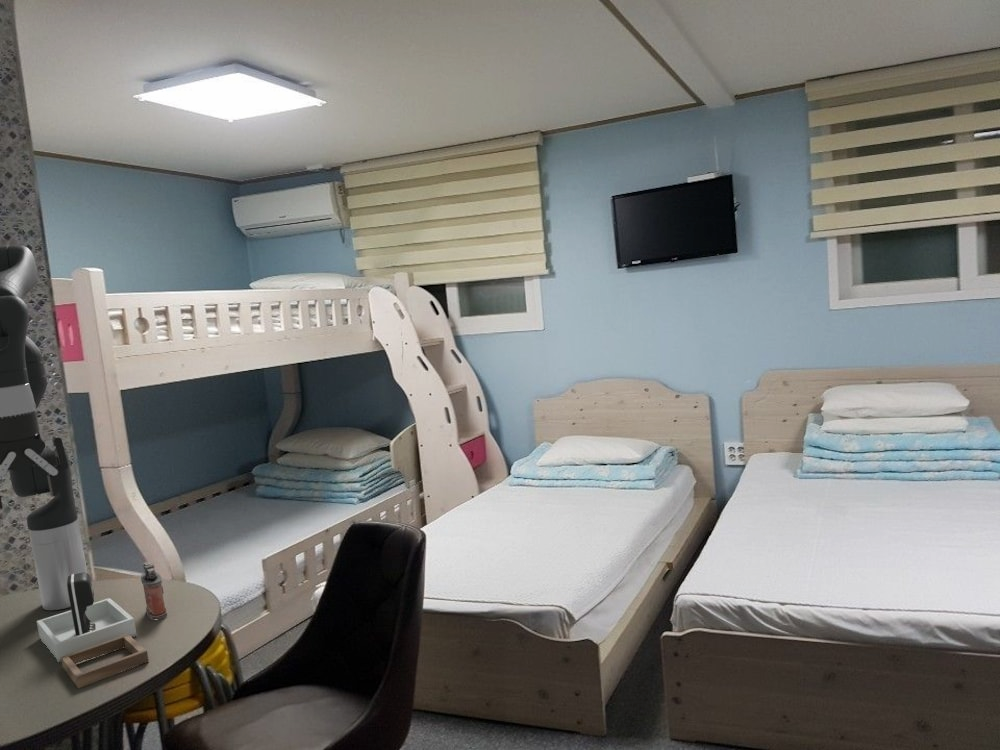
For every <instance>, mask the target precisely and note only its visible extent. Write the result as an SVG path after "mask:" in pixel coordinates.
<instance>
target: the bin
mask: <svg viewBox="0 0 1000 750" xmlns="http://www.w3.org/2000/svg"><path fill="white" fill-rule="evenodd" d="M85 614H86V616H87V618H88V619H89V620H90V621H91V622H92V623H94V624H95V625H96V630H93V631H90V632H87V633H84V634H81V635H78V636H76V633H75V628H74V622H73V617H72V611H71V609H70V610H67V611H65V612H62V613H57V614H55V615H52V616H49V617H48V616H47V617H45V618H42V619H38V620H36V626H37V631H38V636H39V640H40V639H41V640H40V641H41V642H42V643H43V645H44V644H45V645H46V646H47V647H46V646H45V645H44V646H45V647H46V648H48V649H49V650H50V651H49V650H48V651H49V652H50V653H52V654H53V655H54V656H53V655H52V654H51V655H52V656H53V658H54V657H55V658H56V659H57V660H58V661H59V662H61V657H62V656H65V655H68V654H71V653H74V652H77V651H79V650H82V649H85V648H88V647H91V646H94V645H97V644H100V643H103V642H105V641H108V640H111V639H114V638H117V637H120V636H123V635H126V634H129V635H130V636H131V637H134V636H137V629H136V623H135V618H134V617H133V616H132V615H130V614H129V613H128V612H127V611H125V610H124V609H123V608H122V607H121V606H120V605H119V604H117V603H116V602H115V601H114V600H112V599H111V598H110V597H108V598H105V599H101V600H100V601H96V602H93V605H91V606H88V607H87V610H86V611H85ZM137 637H138V636H137ZM134 638H135V637H134ZM55 658H54V659H55ZM56 659H55V660H56ZM57 660H56V661H57ZM58 661H57V662H58Z"/></svg>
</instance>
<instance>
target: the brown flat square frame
mask: <svg viewBox="0 0 1000 750" xmlns="http://www.w3.org/2000/svg"><path fill="white" fill-rule="evenodd" d="M123 647H126V648H127V649H128V650H129V651H130V652H131V653H132V654H131V653H130V652H129V651H128V650H127V649H126V648H125V649H126V650H127V651H128V652H129V653H130V654H129V655H127V656H124V657H120V658H117V659H114V660H113V661H109V662H107V663H104V664H102V665H99V666H96V667H94V668H93V667H92V668H90V669H87V670H85V671H83V672H82V671H81V670H80V669H79V668H78V665H75V664H76V663H78V662H81V661H83V660H87V659H91V658H93V657H97V656H100V655H102V654H106V653H109V652H112V651H114V650H117V649H120V648H123ZM112 653H113V652H112ZM148 661H149V656H148V650H147V649H146V648H144V647H143V646H142V645H141V644H140V643H139V642H138V641H136V640H135V639H134V638H132V637H131V636H130V635H129V634H126V635H123V636H120V637H117V638H114V639H111V640H108V641H105V642H103V643H100V644H97V645H94V646H91V647H88V648H85V649H82V650H79V651H77V652H74V653H71V654H68V655H65V656H62V657H61V662H62V663H61V666H62V669H63V668H64V669H65V670H64V669H63V670H64V672H65V671H66V672H67V673H66V672H65V673H66V674H67V676H69V678H70V680H71V681H72V682H73V683H74V684H75V685H76V687H77V688H78V689H81V688H84V687H86V686H90V685H92V684H95V683H97V682H100V681H103V680H105V679H108V678H110V676H111V677H113V676H116V675H118V674H117V673H119V674H121V673H122V672H121V671H124V670H127V669H129V670H131V669H130V668H132V667H134V666H137V665H140V664H143V663H145V664H147V663H146V662H148ZM148 663H149V662H148ZM143 665H144V664H143ZM140 666H141V665H140ZM137 667H138V666H137ZM132 669H133V668H132ZM127 671H128V670H127ZM120 672H121V673H120ZM124 672H125V671H124ZM115 674H116V675H115ZM107 677H108V678H107ZM102 679H103V680H102ZM99 680H100V681H99Z"/></svg>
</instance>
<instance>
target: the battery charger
mask: <svg viewBox="0 0 1000 750" xmlns="http://www.w3.org/2000/svg"><path fill="white" fill-rule="evenodd" d="M67 588H68V595H69V600H70V606H71V607H70V610H71V611H72V617H73V622H74V628H75V633H76V636H78V635H81V634H84V633H87V632H90V631H93V630H96V625H95V624H94V623H92V622H91V621H90V620H89V619H88V618H87V616H86V614H85V611H86V610H87V607H88V606H91V605H93V603H95V602H94V601H95V591H94V587H93V582H92V579H91V576H90V574H89V573H88V572H87V573H86V572H82V573H78V574H72V575H69V576H68V579H67Z"/></svg>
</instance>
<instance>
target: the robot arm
mask: <svg viewBox="0 0 1000 750" xmlns="http://www.w3.org/2000/svg"><path fill="white" fill-rule="evenodd" d="M37 281H38V267H37V264H36V259H35V257H34V254H33V252H32V251H31V250H30V249H29V247H27V246H24V245H20V244H19V245H17V244H15V245H14V244H13V245H1V246H0V481H1V480H2V478H3V477H4V476H5V474H6V472H7V471H8V472H9V478H10V482H11V483H10V484H11V486H12V490H13V492H14V493H15V494H16V496H18V497H19V498H26V497H31V496H36V495H42V494H49V493H50V496H51V497H52V499H50V501H48V502H47V503H46V504H44V505H42V506H41V507H39V508H36V510H33V511H32V512H31V513H29V514H28V515H27V516H26V517H27V518H26V523H27V529H28V534H29V539H30V546H31V550H32V556H33V560H34V561H33V562H34V566H35V572H36V577H37V578H36V579H37V582H38V589H39V595H40V601H41V605H42V606H41V607H42V609H43V610H45V611H58V610H64V609H68V608H71V606H70V600H69V595H68V588H67V579H68V576H69V575H72V574H78V573H82V572H86V573H88V568H87V562H86V557H85V550H84V544H83V540H82V539H83V538H82V533H81V528H80V523H79V522H80V521H79V519H78V518H79V517H78V512H77V508H76V507H77V506H76V503H75V496H74V490H73V489H74V488H73V480H72V471H71V464H70V458H69V455H68V452H67V450H66V449H65V447H64V444H63V439H62V438H61V437H59V436H56V435H55V436H53V437H51V438H49V439H45V440H43V438H42V437H41V432H40V427H39V421H38V417H37V409H38V407H39V405H40V404H41V401H42V399H43V397H44V395H45V393H46V390H47V386H48V378H47V373H46V368H45V367H46V366H45V362H44V356H43V354H42V351H41V350H40V348H39V347H38V346H37V345H36V343H35V342H34V341H33V340H32V339H31V338H30V337H29V336H28V335H27V333H28V328H29V323H30V322H29V320H30V312H29V308H28V305H27V304H26V303H25V301H24V300H23V299H24V298H25V296H27V295H28V294H29V292H30V291H31V290H32V289H33V288H35V286H36V284H37ZM1 496H2V495H0V510H3V509H4V508H3V502H2V497H1Z"/></svg>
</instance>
